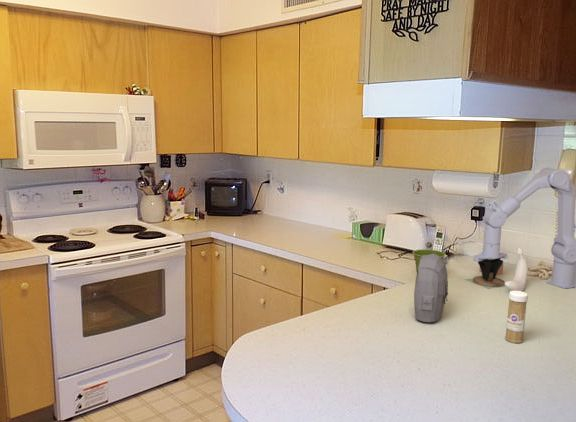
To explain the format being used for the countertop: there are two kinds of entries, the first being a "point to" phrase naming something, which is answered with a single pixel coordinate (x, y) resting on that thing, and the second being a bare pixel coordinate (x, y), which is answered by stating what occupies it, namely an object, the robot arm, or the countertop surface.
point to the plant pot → (420, 253)
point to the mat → (482, 285)
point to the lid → (489, 281)
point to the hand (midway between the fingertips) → (488, 278)
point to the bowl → (498, 270)
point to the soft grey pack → (430, 288)
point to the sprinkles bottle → (516, 316)
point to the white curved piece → (518, 274)
